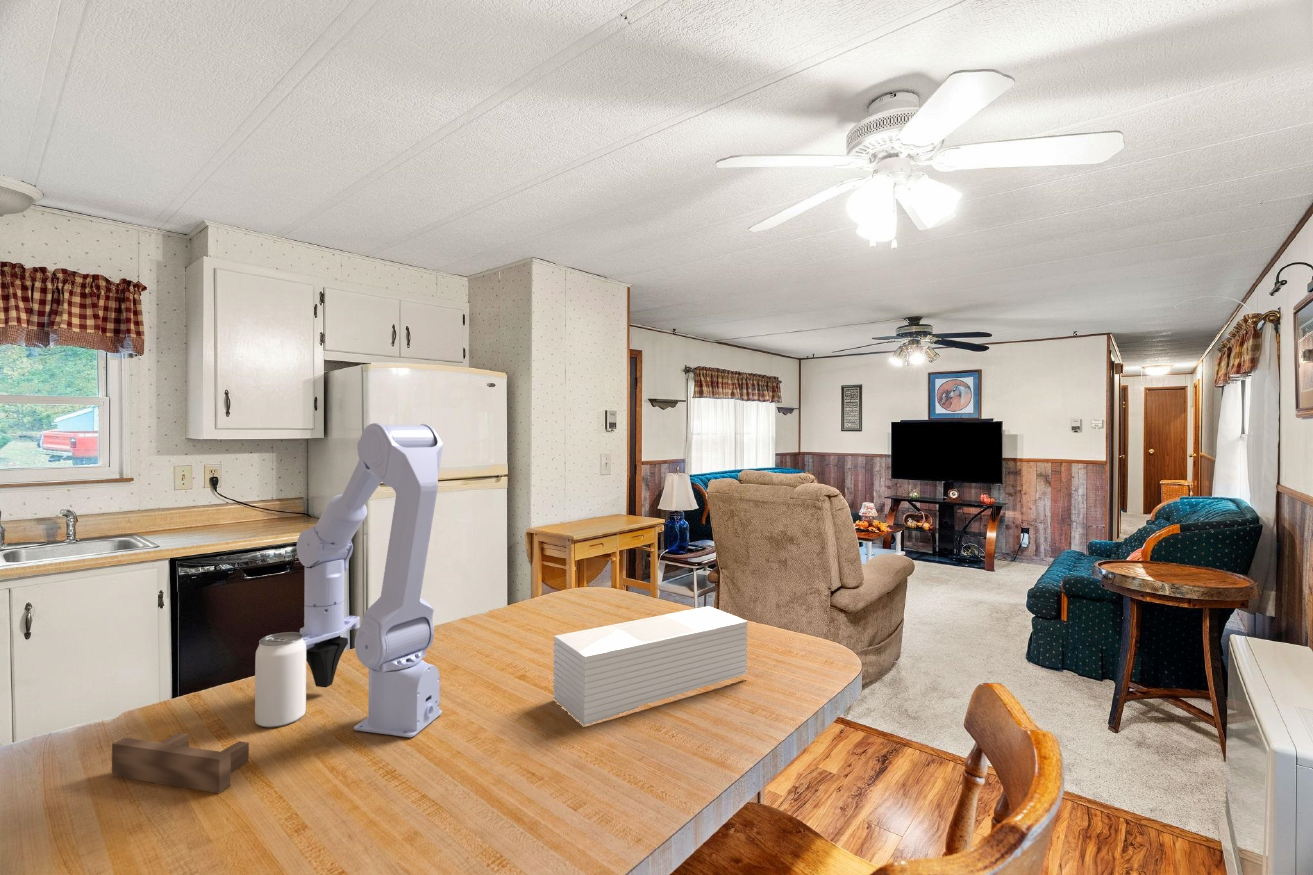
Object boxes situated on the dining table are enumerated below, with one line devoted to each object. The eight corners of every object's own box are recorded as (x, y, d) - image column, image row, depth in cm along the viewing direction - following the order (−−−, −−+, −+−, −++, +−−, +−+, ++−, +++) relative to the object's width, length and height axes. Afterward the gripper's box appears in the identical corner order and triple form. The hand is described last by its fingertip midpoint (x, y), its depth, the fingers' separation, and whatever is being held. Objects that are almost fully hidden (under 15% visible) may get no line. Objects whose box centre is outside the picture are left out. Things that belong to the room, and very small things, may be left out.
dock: (264, 764, 79) (265, 733, 79) (219, 793, 73) (219, 759, 73) (164, 749, 82) (164, 719, 82) (111, 775, 76) (112, 743, 76)
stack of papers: (708, 662, 117) (709, 605, 116) (746, 681, 108) (747, 620, 108) (553, 702, 99) (554, 635, 98) (583, 729, 90) (584, 656, 90)
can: (282, 731, 88) (282, 647, 87) (243, 726, 89) (244, 643, 89) (315, 710, 94) (316, 632, 94) (279, 706, 95) (280, 629, 95)
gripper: (335, 589, 108) (334, 666, 108) (266, 613, 93) (266, 701, 94) (370, 591, 106) (370, 670, 106) (306, 616, 92) (305, 706, 92)
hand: (323, 685), depth 100 cm, fingers closed
